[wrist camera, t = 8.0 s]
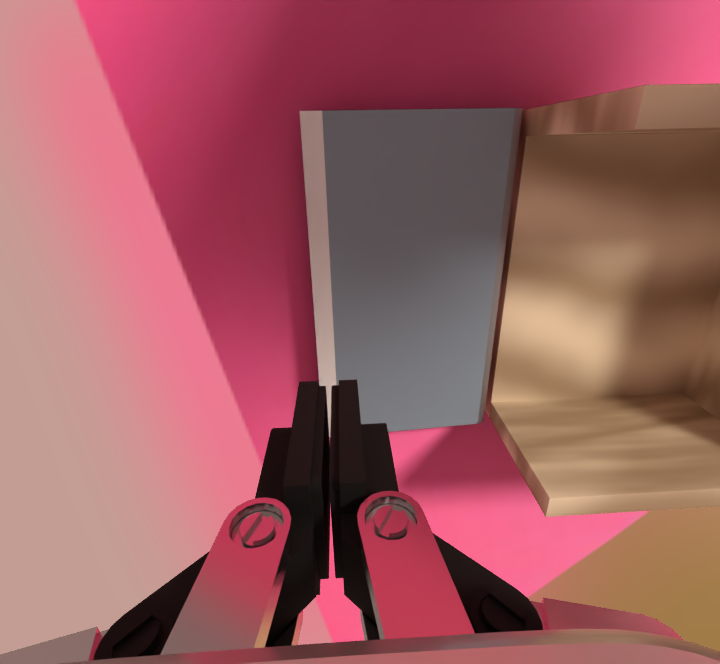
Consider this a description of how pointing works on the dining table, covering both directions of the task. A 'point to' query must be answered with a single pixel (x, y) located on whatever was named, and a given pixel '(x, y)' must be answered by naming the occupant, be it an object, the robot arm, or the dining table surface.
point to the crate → (613, 303)
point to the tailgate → (408, 255)
